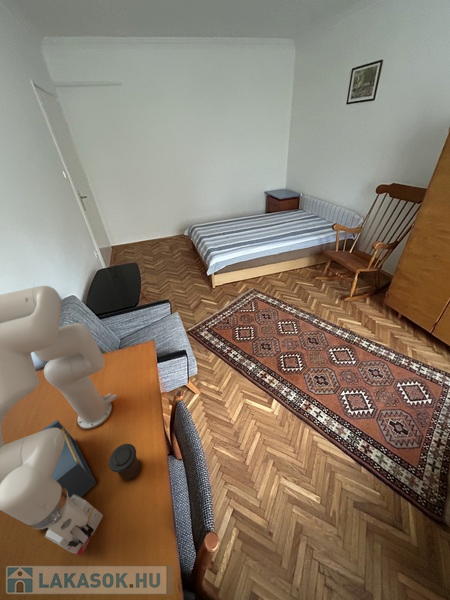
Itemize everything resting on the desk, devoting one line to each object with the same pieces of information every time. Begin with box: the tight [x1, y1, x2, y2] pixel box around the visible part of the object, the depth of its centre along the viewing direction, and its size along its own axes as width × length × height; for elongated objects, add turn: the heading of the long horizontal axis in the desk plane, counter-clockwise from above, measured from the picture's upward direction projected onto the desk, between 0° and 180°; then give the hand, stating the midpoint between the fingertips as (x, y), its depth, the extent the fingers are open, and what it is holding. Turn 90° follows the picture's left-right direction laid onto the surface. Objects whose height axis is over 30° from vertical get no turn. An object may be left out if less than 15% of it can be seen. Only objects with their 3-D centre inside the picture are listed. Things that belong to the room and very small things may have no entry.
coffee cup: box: [108, 443, 141, 481], centre depth 76 cm, size 8×8×10 cm
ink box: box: [44, 495, 104, 557], centre depth 62 cm, size 9×5×12 cm, turn 162°
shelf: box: [40, 419, 97, 531], centre depth 74 cm, size 15×20×14 cm
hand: (80, 527), depth 63 cm, fingers closed on ink box, 5 cm apart
